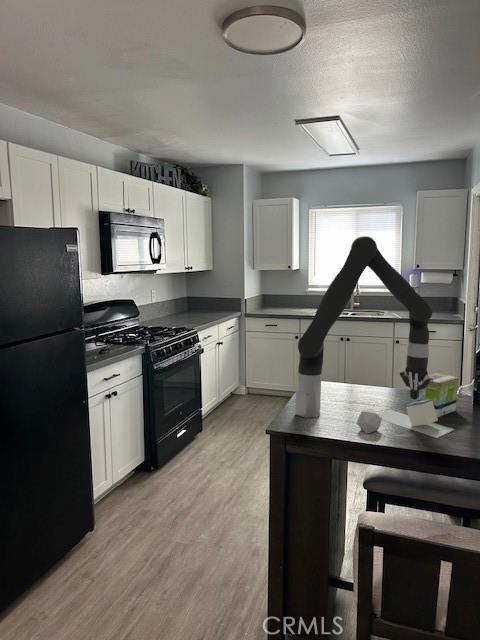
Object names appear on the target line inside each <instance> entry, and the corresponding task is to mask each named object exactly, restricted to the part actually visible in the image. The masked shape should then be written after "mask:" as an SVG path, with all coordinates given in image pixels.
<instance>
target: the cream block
mask: <svg viewBox="0 0 480 640" xmlns="http://www.w3.org/2000/svg"><path fill="white" fill-rule="evenodd" d="M405 408H406V411H407V415H409V419H410V422H411V425H412V426H418V425H427V424H430V423H436V422H437V421H439V420H438V418H439V417H437V415H436V412H435V409H434V405H433V402H432V399H430V400H423V401H417V400H416V401H414V402H411V403H408V404H406V405H405Z"/></svg>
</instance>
